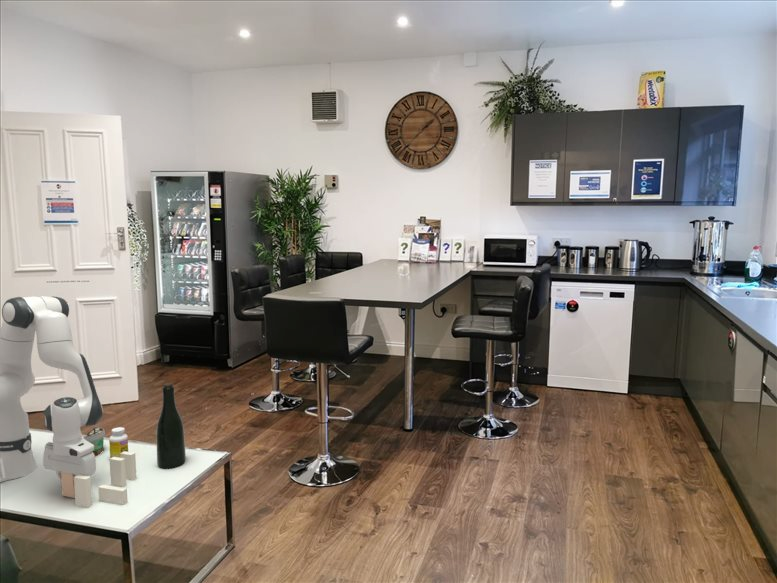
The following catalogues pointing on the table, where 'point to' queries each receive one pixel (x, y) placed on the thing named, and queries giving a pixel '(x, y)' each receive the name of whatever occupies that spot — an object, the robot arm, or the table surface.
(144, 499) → the table surface
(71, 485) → the domino
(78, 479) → the domino
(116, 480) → the domino
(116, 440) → the supplement bottle
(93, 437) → the food container
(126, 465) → the domino
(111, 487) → the domino
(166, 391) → the dark green wine bottle
